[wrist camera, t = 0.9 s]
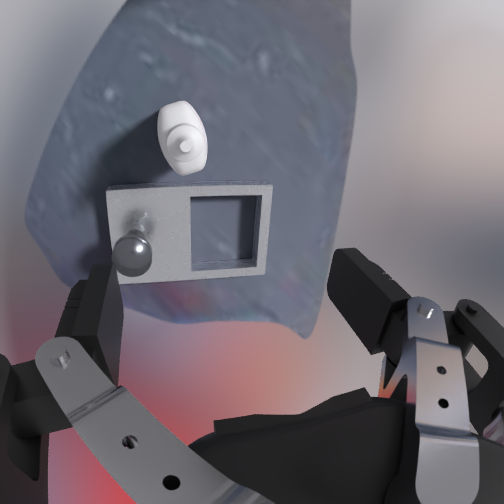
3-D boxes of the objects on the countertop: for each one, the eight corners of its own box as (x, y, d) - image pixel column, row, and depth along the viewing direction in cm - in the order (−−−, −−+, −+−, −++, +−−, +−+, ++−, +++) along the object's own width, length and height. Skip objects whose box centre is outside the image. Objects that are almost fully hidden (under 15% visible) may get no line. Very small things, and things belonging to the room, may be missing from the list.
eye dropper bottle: (150, 155, 28) (140, 186, 17) (164, 99, 25) (160, 92, 15) (194, 163, 29) (210, 197, 19) (208, 108, 27) (234, 108, 17)
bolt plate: (109, 185, 28) (96, 204, 22) (266, 180, 32) (288, 197, 26) (119, 274, 32) (113, 307, 27) (259, 265, 36) (276, 295, 31)
